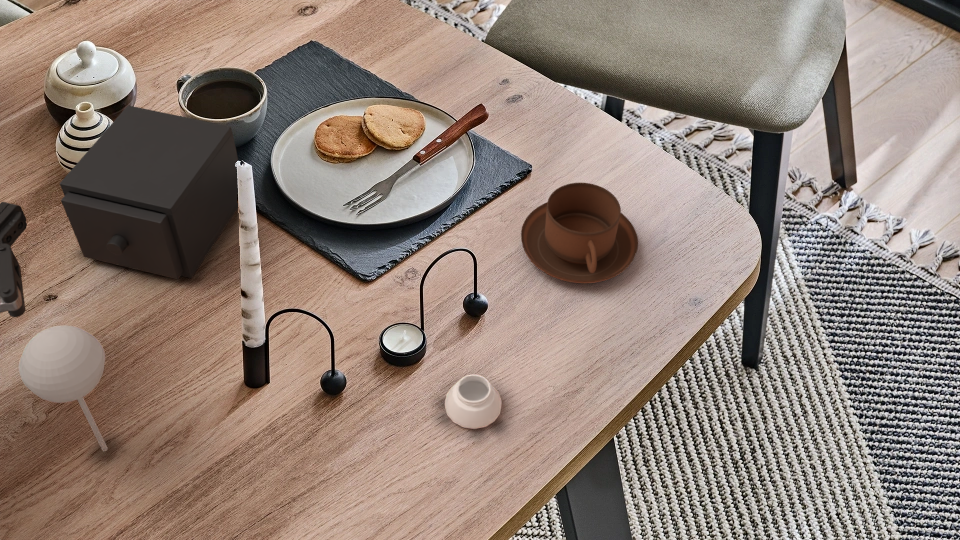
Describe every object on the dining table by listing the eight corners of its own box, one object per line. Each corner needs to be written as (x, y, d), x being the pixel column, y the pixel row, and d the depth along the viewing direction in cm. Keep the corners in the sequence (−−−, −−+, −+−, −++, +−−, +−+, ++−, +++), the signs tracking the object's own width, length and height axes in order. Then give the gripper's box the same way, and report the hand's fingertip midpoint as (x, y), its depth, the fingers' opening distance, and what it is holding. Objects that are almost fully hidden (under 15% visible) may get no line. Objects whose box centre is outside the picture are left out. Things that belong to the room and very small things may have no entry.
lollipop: (150, 421, 83) (105, 310, 72) (131, 480, 79) (80, 373, 68) (79, 418, 83) (23, 307, 72) (57, 478, 79) (-6, 370, 68)
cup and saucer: (658, 269, 97) (668, 227, 92) (557, 308, 93) (562, 266, 88) (595, 197, 104) (602, 154, 99) (499, 230, 100) (502, 187, 95)
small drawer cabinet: (191, 278, 94) (170, 208, 87) (87, 253, 96) (59, 183, 89) (246, 196, 102) (231, 126, 95) (149, 174, 104) (128, 105, 97)
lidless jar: (463, 376, 87) (434, 414, 84) (464, 356, 85) (434, 395, 82) (511, 400, 85) (482, 440, 82) (512, 380, 83) (483, 421, 80)
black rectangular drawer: (172, 288, 92) (154, 231, 86) (77, 265, 94) (53, 208, 88) (230, 202, 100) (217, 146, 95) (142, 183, 102) (123, 126, 96)
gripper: (-67, 360, 64) (72, 193, 76) (-231, 317, 67) (-71, 161, 78) (-27, 421, 70) (98, 257, 81) (-179, 379, 72) (-37, 225, 83)
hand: (15, 210), depth 80 cm, fingers closed
